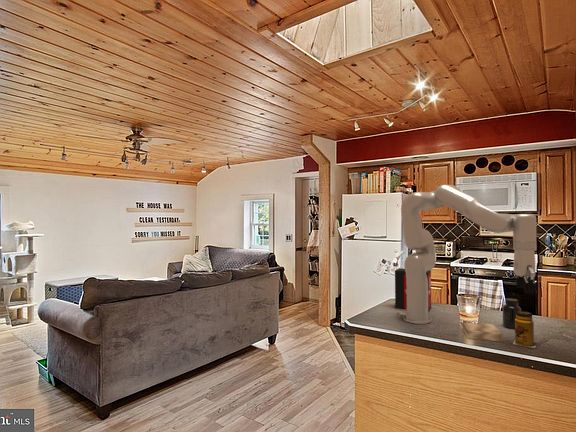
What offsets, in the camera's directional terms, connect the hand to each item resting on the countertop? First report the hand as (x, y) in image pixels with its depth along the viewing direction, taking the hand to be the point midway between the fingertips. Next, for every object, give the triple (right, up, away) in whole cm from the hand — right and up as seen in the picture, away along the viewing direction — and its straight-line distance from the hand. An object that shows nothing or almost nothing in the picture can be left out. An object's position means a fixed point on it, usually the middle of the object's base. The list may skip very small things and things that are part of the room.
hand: (525, 290), depth 141 cm
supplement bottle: (+7, -20, +20) cm, 29 cm away
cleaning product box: (-25, -20, +53) cm, 62 cm away
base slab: (-12, -20, +10) cm, 25 cm away
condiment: (0, -21, 0) cm, 21 cm away
